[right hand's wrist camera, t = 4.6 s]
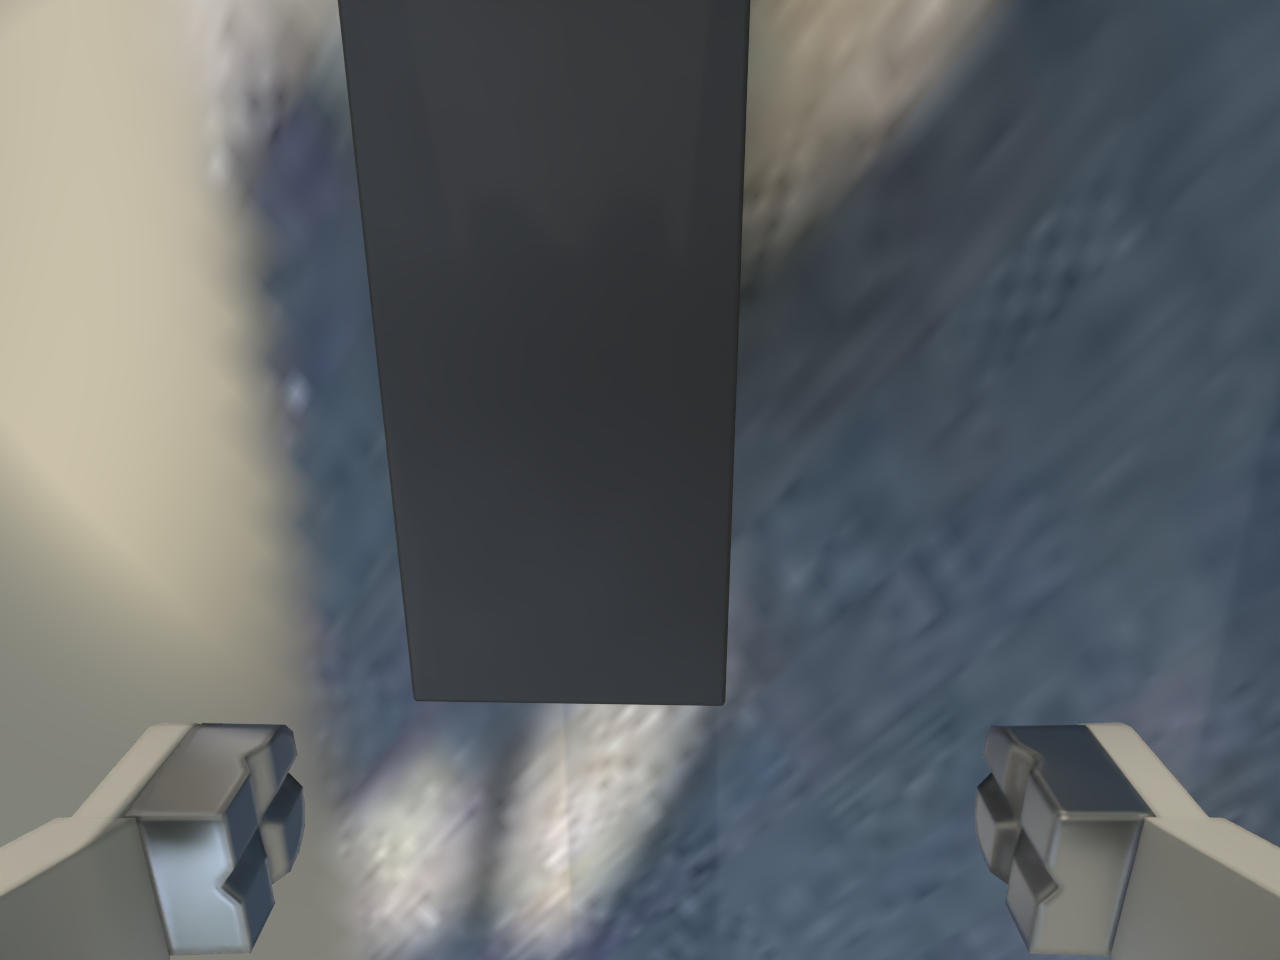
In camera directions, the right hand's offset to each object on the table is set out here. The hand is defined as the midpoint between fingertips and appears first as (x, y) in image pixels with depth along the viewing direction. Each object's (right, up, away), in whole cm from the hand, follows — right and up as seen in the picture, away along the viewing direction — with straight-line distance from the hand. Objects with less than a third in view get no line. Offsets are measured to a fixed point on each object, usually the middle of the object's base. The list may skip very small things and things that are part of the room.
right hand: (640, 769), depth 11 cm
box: (-1, +13, +12) cm, 18 cm away
